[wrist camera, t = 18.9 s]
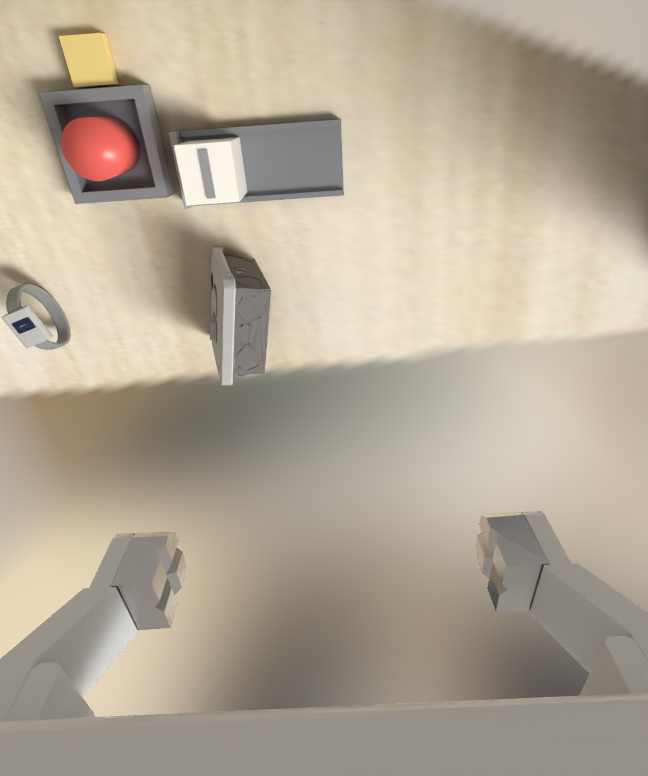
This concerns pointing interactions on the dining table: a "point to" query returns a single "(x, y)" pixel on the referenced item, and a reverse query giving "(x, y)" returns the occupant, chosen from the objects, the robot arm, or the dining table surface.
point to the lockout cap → (100, 147)
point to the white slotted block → (211, 171)
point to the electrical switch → (238, 316)
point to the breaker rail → (281, 158)
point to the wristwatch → (35, 319)
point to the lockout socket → (127, 103)
